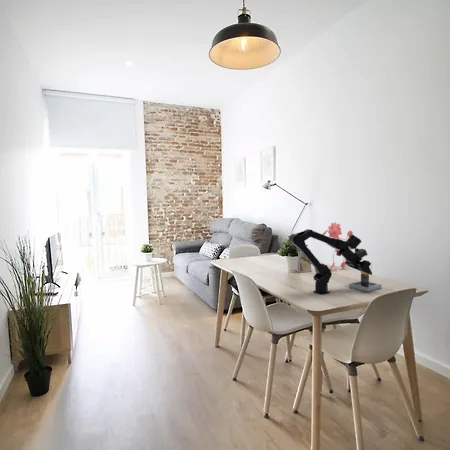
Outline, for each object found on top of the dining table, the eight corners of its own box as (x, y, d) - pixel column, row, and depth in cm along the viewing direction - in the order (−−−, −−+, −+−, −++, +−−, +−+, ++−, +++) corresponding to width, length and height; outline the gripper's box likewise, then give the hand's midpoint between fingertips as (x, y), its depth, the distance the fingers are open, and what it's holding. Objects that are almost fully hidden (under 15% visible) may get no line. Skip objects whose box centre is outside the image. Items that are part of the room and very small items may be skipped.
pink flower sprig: (356, 269, 242) (355, 221, 240) (327, 273, 233) (325, 223, 231) (342, 265, 256) (340, 220, 254) (314, 269, 247) (312, 223, 245)
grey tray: (367, 292, 184) (367, 288, 184) (349, 287, 194) (349, 283, 194) (381, 288, 190) (381, 284, 190) (362, 284, 201) (362, 280, 201)
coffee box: (307, 270, 246) (306, 248, 245) (311, 271, 240) (310, 249, 239) (295, 271, 244) (295, 249, 243) (300, 273, 238) (299, 250, 236)
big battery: (368, 288, 189) (368, 269, 188) (360, 287, 191) (360, 268, 190) (369, 286, 193) (369, 267, 192) (361, 285, 195) (361, 267, 194)
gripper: (367, 246, 180) (386, 265, 183) (349, 242, 199) (366, 259, 201) (354, 262, 180) (373, 280, 182) (337, 256, 198) (354, 273, 201)
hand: (367, 272), depth 192 cm, fingers open, 9 cm apart
